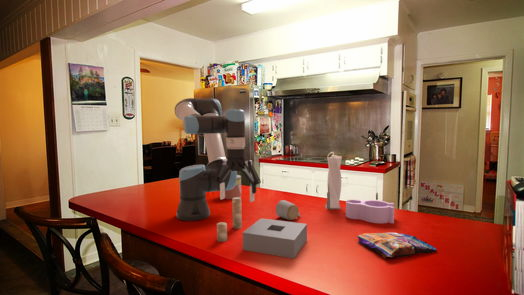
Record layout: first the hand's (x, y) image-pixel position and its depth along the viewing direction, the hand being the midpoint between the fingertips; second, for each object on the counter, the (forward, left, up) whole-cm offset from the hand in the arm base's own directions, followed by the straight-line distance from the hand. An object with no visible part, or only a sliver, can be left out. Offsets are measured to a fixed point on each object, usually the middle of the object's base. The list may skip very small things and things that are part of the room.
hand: (237, 200), depth 121 cm
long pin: (0, 0, -11) cm, 11 cm away
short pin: (+1, -14, -12) cm, 18 cm away
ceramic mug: (+16, +20, -12) cm, 28 cm away
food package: (+60, +3, -12) cm, 62 cm away
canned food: (-27, +45, -12) cm, 54 cm away
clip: (+50, +32, -12) cm, 60 cm away
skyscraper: (+32, +44, -12) cm, 56 cm away
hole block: (+21, -11, -11) cm, 26 cm away
